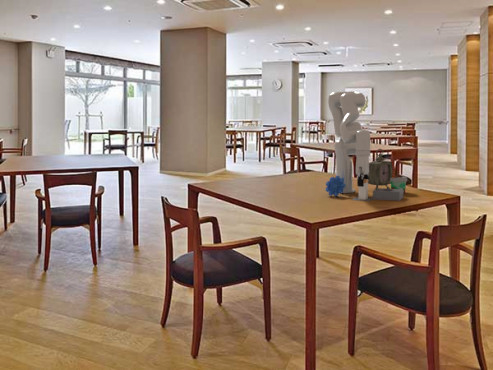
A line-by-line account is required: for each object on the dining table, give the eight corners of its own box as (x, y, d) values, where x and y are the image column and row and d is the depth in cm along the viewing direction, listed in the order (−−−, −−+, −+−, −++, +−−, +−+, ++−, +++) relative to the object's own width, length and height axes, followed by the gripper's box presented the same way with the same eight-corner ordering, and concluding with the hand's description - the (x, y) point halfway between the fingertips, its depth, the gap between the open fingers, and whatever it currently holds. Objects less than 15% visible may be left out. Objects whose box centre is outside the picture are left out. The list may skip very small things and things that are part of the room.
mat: (351, 201, 264) (351, 199, 264) (356, 197, 272) (356, 196, 272) (369, 202, 259) (369, 200, 259) (374, 198, 268) (374, 197, 268)
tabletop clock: (378, 192, 288) (378, 150, 284) (365, 191, 295) (365, 149, 291) (392, 189, 297) (392, 148, 294) (379, 188, 304) (380, 147, 301)
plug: (358, 199, 265) (358, 180, 263) (360, 197, 269) (360, 179, 267) (366, 199, 263) (366, 180, 261) (368, 198, 267) (368, 179, 265)
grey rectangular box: (372, 200, 264) (372, 190, 263) (377, 197, 273) (377, 188, 272) (399, 201, 257) (399, 192, 257) (403, 198, 266) (403, 189, 265)
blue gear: (347, 195, 282) (347, 174, 281) (344, 197, 276) (344, 176, 274) (327, 194, 287) (326, 174, 285) (324, 196, 280) (324, 175, 279)
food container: (399, 196, 273) (399, 178, 272) (389, 195, 278) (389, 177, 276) (411, 193, 281) (411, 176, 279) (402, 192, 285) (402, 175, 284)
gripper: (360, 152, 271) (360, 182, 274) (351, 154, 256) (351, 187, 259) (374, 152, 268) (374, 183, 270) (365, 155, 253) (365, 187, 255)
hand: (363, 185), depth 265 cm, fingers open, 9 cm apart
